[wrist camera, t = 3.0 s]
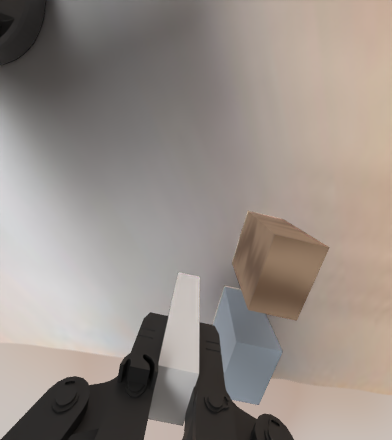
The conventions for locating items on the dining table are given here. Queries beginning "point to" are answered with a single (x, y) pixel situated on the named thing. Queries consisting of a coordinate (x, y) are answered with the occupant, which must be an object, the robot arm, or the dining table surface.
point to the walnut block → (276, 265)
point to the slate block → (245, 347)
